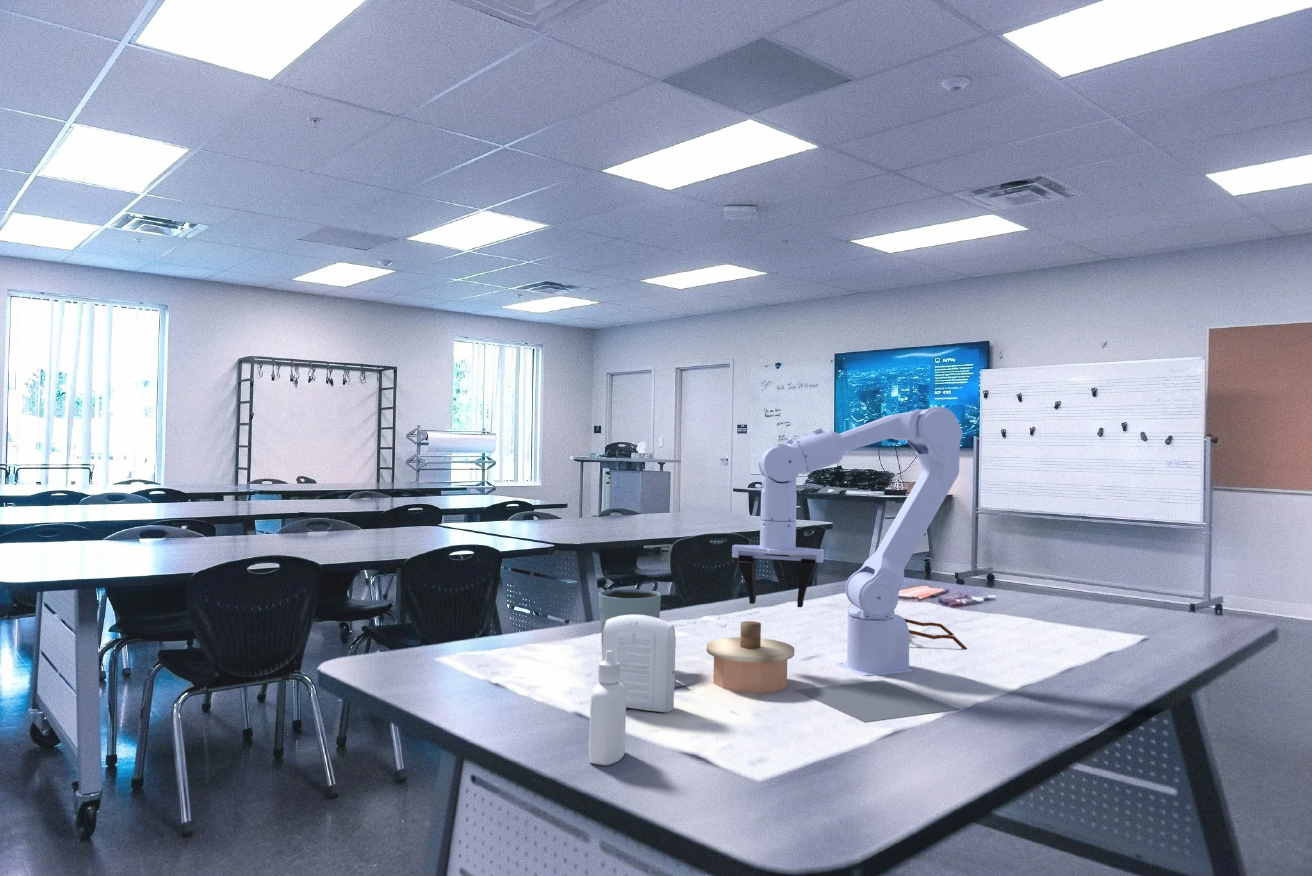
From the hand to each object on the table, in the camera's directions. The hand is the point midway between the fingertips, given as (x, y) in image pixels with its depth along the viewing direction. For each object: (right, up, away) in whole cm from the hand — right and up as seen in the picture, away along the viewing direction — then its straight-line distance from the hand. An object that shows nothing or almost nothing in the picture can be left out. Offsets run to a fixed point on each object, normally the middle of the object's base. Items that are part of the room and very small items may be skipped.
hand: (776, 604), depth 140 cm
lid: (-5, -5, -10) cm, 13 cm away
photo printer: (-22, -10, -22) cm, 33 cm away
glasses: (+32, -12, +25) cm, 42 cm away
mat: (+11, -10, -18) cm, 24 cm away
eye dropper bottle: (-25, -9, -42) cm, 50 cm away
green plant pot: (-24, -10, -1) cm, 26 cm away
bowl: (-5, -10, -10) cm, 15 cm away
